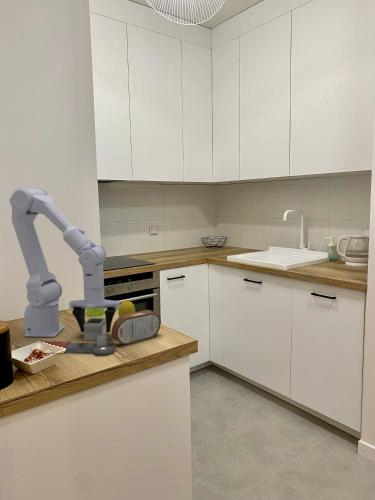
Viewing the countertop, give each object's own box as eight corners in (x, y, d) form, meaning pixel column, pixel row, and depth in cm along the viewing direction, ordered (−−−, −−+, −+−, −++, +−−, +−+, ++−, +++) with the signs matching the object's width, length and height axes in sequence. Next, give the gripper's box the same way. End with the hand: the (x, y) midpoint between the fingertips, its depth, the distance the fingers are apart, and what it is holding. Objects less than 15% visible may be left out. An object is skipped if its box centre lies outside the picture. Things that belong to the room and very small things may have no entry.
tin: (156, 333, 113) (156, 306, 112) (162, 336, 111) (162, 309, 109) (111, 345, 104) (110, 316, 103) (116, 348, 102) (115, 319, 100)
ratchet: (33, 355, 98) (32, 340, 97) (43, 346, 103) (42, 331, 103) (111, 356, 97) (111, 341, 96) (117, 347, 103) (116, 332, 102)
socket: (84, 340, 107) (83, 323, 107) (89, 333, 113) (89, 317, 112) (102, 340, 107) (101, 324, 106) (106, 333, 112) (106, 318, 112)
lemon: (132, 326, 118) (131, 302, 117) (115, 325, 119) (115, 301, 118) (137, 321, 124) (137, 298, 122) (122, 320, 125) (121, 297, 123)
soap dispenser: (93, 318, 126) (91, 261, 123) (83, 313, 131) (81, 258, 128) (108, 314, 130) (106, 259, 127) (98, 310, 135) (96, 256, 132)
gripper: (64, 290, 104) (67, 336, 106) (115, 290, 103) (116, 336, 105) (73, 284, 111) (75, 327, 113) (120, 284, 110) (122, 327, 112)
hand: (95, 331), depth 110 cm, fingers open, 7 cm apart
